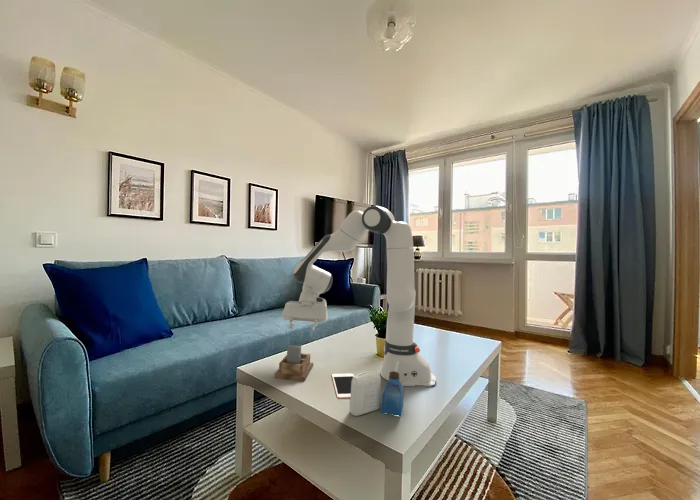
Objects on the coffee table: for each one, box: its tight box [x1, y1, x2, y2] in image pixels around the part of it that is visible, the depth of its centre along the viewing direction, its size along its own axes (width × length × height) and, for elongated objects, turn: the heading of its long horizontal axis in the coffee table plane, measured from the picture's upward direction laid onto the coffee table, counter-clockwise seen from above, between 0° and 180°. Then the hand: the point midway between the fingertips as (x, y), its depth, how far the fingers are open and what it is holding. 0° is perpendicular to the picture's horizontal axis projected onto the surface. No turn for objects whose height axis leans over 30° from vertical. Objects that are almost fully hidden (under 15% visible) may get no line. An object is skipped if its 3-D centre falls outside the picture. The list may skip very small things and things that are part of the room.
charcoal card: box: [286, 344, 302, 364], centre depth 115 cm, size 5×2×10 cm, turn 84°
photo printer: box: [349, 370, 382, 417], centre depth 93 cm, size 10×4×12 cm, turn 124°
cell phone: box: [331, 373, 355, 400], centre depth 109 cm, size 9×18×1 cm, turn 10°
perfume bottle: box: [380, 371, 405, 417], centre depth 94 cm, size 6×6×12 cm
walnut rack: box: [274, 352, 314, 382], centre depth 118 cm, size 12×14×6 cm
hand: (301, 328), depth 125 cm, fingers open, 8 cm apart
